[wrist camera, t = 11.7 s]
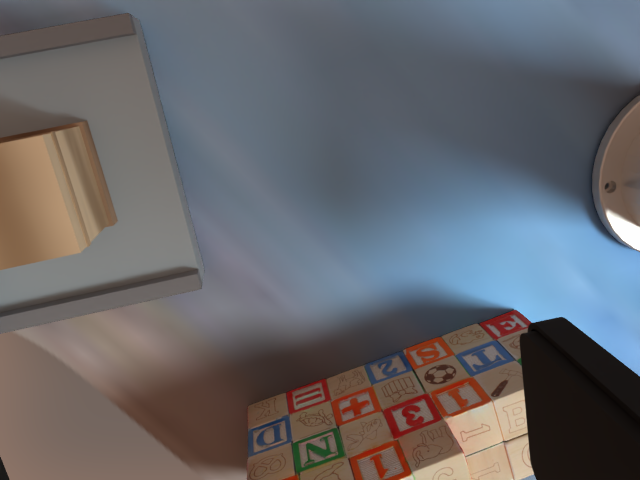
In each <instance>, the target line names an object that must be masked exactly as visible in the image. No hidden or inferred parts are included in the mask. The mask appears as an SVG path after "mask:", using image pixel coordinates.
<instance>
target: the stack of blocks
mask: <svg viewBox="0 0 640 480" xmlns="http://www.w3.org/2000/svg"><path fill="white" fill-rule="evenodd" d="M530 323H531V322H530V321H529V320H528V319H527V318H526V317H524V316H523V315H522V314H521V313H520V312H518V311H517V310H513V311H510V312H508V313H505V314H503V315H500V316H497V317H495V318H492V319H489V320H487V321H485V322H481V323H480V324H473V325H470V326H467V327H464V328H462V329H459V330H456V331H453V332H451V333H448V334H445V335H443V336H442V337H437V338H434V339H431V340H428V341H426V342H423V343H420V344H417V345H414V346H412V347H409V348H406V349H404V350H403V351H401V352H398V353H395V354H392V355H390V356H387V357H384V358H381V359H379V360H376V361H373V362H370V363H367V364H366V365H364V366H360V367H357V368H354V369H352V370H349V371H346V372H344V373H341V374H338V375H335V376H333V377H330V378H328V379H322V380H319V381H316V382H314V383H311V384H308V385H305V386H303V387H300V388H297V389H294V390H292V391H289V392H286V393H282V394H279V395H277V396H274V397H271V398H268V399H266V400H263V401H260V402H257V403H254V404H252V405H249V406H248V408H247V413H248V420H247V421H248V460H247V480H520V479H522V478H525V477H528V476H530V475H533V474H534V472H533V469H532V466H531V461H530V453H529V441H528V430H527V419H526V408H525V397H524V386H523V375H522V364H521V353H520V335H521V334H522V333H527V332H528V326H529V325H530Z"/></svg>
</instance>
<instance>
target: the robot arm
mask: <svg viewBox="0 0 640 480" xmlns="http://www.w3.org/2000/svg"><path fill="white" fill-rule="evenodd" d="M592 192H593V198H594V203H595V207H596V210H597V212H598V215H599V217H600V220H601V221H602V223H603V224H604V226H605V227H606V229H607V230H608V232H609V233H610V234H611V235H612V236H614V237H615V238H616V239H617V240H618V241H619V242H621V243H622V244H624V245H626V246H628V247H630V248H631V249H634V250H636V251H639V252H640V95H639V96H637V97H636V98H634V99H633V100H632V101H631V102H630V103H629V104H628V105H627V106H626V107H625V108H623V109H622V110H621V112H620V113H619V114H618V115H617V117H616V118H615V119H614V121H613V122H612V123H611V124H610V126H609V128H608V130H607V132H606V133H605V135H604V137H603V139H602V141H601V143H600V146H599V149H598V152H597V155H596V157H595V163H594V168H593V174H592ZM520 353H521V364H522V375H523V386H524V397H525V408H526V419H527V430H528V441H529V453H530V461H531V466H532V469H533V472H534V475H535V477H536V479H537V480H640V377H639V376H638V375H637V374H636V373H634V372H633V371H632V370H631V369H629V368H628V367H627V366H625V365H624V364H623V363H622V362H620V361H619V360H618V359H617V358H615V357H614V356H613V355H611V354H610V353H609V352H608V351H606V350H605V349H604V348H602V347H601V346H600V345H599V344H597V343H596V342H595V341H594V340H592V339H591V338H590V337H588V336H587V335H586V334H585V333H583V332H582V331H581V330H579V329H578V328H577V327H576V326H574V325H573V324H572V323H571V322H569V321H568V320H567V319H565V318H563V317H559V318H554V319H549V320H544V321H540V322H535V323H530V325H529V326H528V332H527V333H522V334H521V335H520ZM0 480H9V477H8V475H7V472H6V470H5V467H4V465H3V462H2V460H1V457H0Z"/></svg>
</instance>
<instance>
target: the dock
mask: <svg viewBox="0 0 640 480" xmlns="http://www.w3.org/2000/svg"><path fill="white" fill-rule="evenodd" d="M82 121H88V124H89V128H90V131H91V134H92V138H93V141H94V144H95V147H96V151H97V154H98V157H99V161H100V164H101V167H102V170H103V174H104V177H105V180H106V183H107V187H108V190H109V193H110V197H111V200H112V203H113V206H114V210H115V213H116V216H117V220H118V221H117V222H116V224H115V225H114V226H110V227H105V228H104V229H103V230H102V231H101V232H100V233H99V234H98V235H97V236H96V237H95V238H94V240H93V241H92V242H91V245H90V246H89V247H86V248H85V249H84V250H83V251H82V252H81V253H77V254H73V255H68V256H63V257H59V258H54V259H50V260H45V261H40V262H36V263H31V264H27V265H22V266H17V267H13V268H8V269H4V270H0V334H1V333H6V332H10V331H15V330H19V329H24V328H28V327H33V326H37V325H42V324H46V323H51V322H55V321H60V320H64V319H69V318H73V317H78V316H82V315H87V314H91V313H96V312H100V311H105V310H109V309H114V308H118V307H123V306H127V305H132V304H136V303H141V302H145V301H150V300H154V299H159V298H163V297H168V296H172V295H177V294H181V293H186V292H190V291H195V290H199V289H201V288H202V283H203V278H204V272H205V270H204V266H203V262H202V259H201V255H200V251H199V247H198V243H197V239H196V236H195V232H194V228H193V224H192V220H191V216H190V212H189V209H188V205H187V201H186V197H185V193H184V189H183V186H182V182H181V178H180V174H179V170H178V166H177V162H176V159H175V155H174V151H173V147H172V143H171V139H170V136H169V132H168V128H167V124H166V120H165V116H164V112H163V109H162V105H161V101H160V97H159V93H158V89H157V86H156V82H155V78H154V74H153V70H152V66H151V62H150V59H149V55H148V51H147V47H146V43H145V39H144V35H143V32H142V28H141V24H140V20H138V19H137V18H135V17H134V16H132V15H131V14H129V13H125V14H120V15H114V16H108V17H103V18H97V19H92V20H86V21H81V22H75V23H69V24H64V25H58V26H53V27H47V28H41V29H36V30H30V31H25V32H19V33H14V34H8V35H2V36H0V138H2V137H7V136H12V135H17V134H22V133H27V132H32V131H37V130H42V129H47V128H52V127H57V126H62V125H67V124H72V123H77V122H82Z"/></svg>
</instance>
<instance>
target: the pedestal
mask: <svg viewBox="0 0 640 480" xmlns="http://www.w3.org/2000/svg"><path fill="white" fill-rule="evenodd" d="M117 221H118V220H117V216H116V213H115V210H114V206H113V203H112V200H111V197H110V193H109V190H108V187H107V183H106V180H105V177H104V174H103V170H102V167H101V164H100V161H99V157H98V154H97V151H96V147H95V144H94V141H93V138H92V134H91V131H90V128H89V124H88V121H82V122H77V123H72V124H67V125H62V126H57V127H52V128H47V129H42V130H37V131H32V132H27V133H22V134H17V135H12V136H7V137H2V138H0V270H4V269H8V268H13V267H17V266H22V265H27V264H31V263H36V262H40V261H45V260H50V259H54V258H59V257H63V256H68V255H73V254H77V253H81V252H82V251H83V250H84V249H85V248H86V247H89V246H90V245H91V242H92V241H93V240H94V238H95V237H96V236H97V235H98V234H99V233H100V232H101V231H102V230H103V229H104V228H105V227H110V226H114V225H115V224H116V222H117Z"/></svg>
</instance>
